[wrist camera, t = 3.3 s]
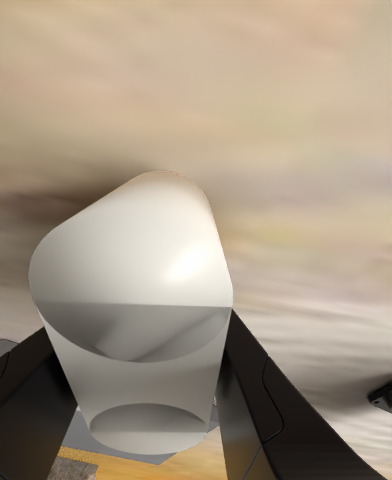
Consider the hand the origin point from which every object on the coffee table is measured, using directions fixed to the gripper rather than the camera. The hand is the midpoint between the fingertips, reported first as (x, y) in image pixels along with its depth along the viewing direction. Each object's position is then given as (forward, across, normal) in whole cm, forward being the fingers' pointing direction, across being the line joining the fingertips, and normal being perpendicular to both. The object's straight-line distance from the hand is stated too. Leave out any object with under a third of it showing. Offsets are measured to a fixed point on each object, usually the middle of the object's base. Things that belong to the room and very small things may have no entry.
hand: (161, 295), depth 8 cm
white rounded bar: (+1, 0, +1) cm, 2 cm away
